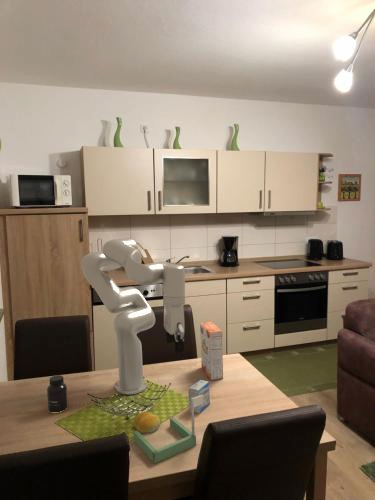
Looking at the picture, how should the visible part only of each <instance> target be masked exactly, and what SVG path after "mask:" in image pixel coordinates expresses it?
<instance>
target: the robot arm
mask: <svg viewBox="0 0 375 500" xmlns="http://www.w3.org/2000/svg"><path fill="white" fill-rule="evenodd" d="M138 247H139V246H138V244H137V242H136V241H135V240H134V239H132V238H128V237H126V238H115V239H110V240H108V241H106V242H105V243H104V244H103V246H102V250H98V251H93V252H90V253H87V254H86V255H84V256H83V258H82V260H81V271H82V274H83V277H84V278H85V279H86V281H87V282H88V283H89V285H90V286H92V288H93V289H94V291H95V292H96V293H97V295H98V296H99V298H100V300H101V302H102V303H103V305H104V307H105V308H106V310H107V311H108V313H110V314H117V315H116V316H115V318H114V319H113V328H114V332H115V333H114V334H115V337H116V344H117V360H118V363H117V364H118V366H117V367H118V382H117V383H116V384H115V391H116V392H117V393H118V394H122V395H136V394H139V393H142V392H144V391H145V390H147V388H148V382H147V381H146V380H145V379H144V371H143V367H144V366H143V350H142V342H141V340H140V338H139V337H138V335H137V334H139V333H140V332H143V331H147V330H149V329H151V328H153V326H154V325H155V324H156V317H155V316H156V315H155V312H154V311H153V309H152V307H151V306H150V304H149V303H148V302H147V299H146V298H145V296H144V295H143V294H142V292H141V291H140V290H139V289H138V288H136V287H135V286H125V287H119V286H118V284H117V283H116V282H115V280H114V278H112V277H111V276H110V275H108V274H107V273H105V271H112V270H116V269H119V268H121V267H123V268H124V272H125V274H126V276H127V277H128V278H129V280H131V281H133V282H135V283H137V284H139V285H141V286H145V287H147V286H148V287H149V286H154V285H158V284H162V285H163V287H162V288H163V289H162V291H163V306H164V309H163V328H164V330H165V332H166V333H165V338H166V343H167V344H169V343H174V352H175V354H177V353H184V351H185V312H184V311H185V310H184V306H185V305H186V274H185V273H186V272H185V271H186V270H185V267H184V266H183V265H181V264H174V263H171V262H168V261H157V262H151V263H146V264H143V263H142V259H143V258H142V253H141V251H140V250H139V248H138Z"/></svg>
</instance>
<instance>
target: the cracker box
mask: <svg viewBox="0 0 375 500" xmlns="http://www.w3.org/2000/svg"><path fill="white" fill-rule="evenodd" d="M199 324H200V325H199V327H200V355H201V356H200V357H201V359H200V361H201V362H200V363H201V368H202V369H203V371H204V372H205V374H206V375H207V377H208V378H209V380H210V381H215V380H221V379H222V380H223V379H224V365H223V364H224V363H223V362H224V359H223V331H222V330H221V329H220V328H219V327H218V326H217V325H216V324H215V323H214V322H213V321H207V322H206V321H205V322H199Z"/></svg>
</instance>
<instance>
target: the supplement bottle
mask: <svg viewBox="0 0 375 500" xmlns="http://www.w3.org/2000/svg"><path fill="white" fill-rule="evenodd" d="M48 382H49V385H48V386H47V388H46V397H47V411H48V410H49V411H50V412H60V411H63V410H65V409H66V408H68V405H69V404H68V388H67V384H66V383H65V382H64V375H61V374H58V375H57V374H56V375H53V376H51V377H50V378H49V381H48ZM66 410H67V409H66ZM66 410H65V411H66ZM49 411H48V412H49ZM50 412H49V413H50ZM63 412H64V411H63Z"/></svg>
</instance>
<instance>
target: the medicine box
mask: <svg viewBox="0 0 375 500" xmlns="http://www.w3.org/2000/svg"><path fill="white" fill-rule="evenodd" d="M187 390H188V393H187V394H188V410H189V412H191V398H192V397H193V398H195V397H198V396H200V395H203V404H201V405H199V406H196V407H194V413H196V414H201V413H202V412H203V411H204V410H205V409H206V408H207V407H209V405H210V404H211V396H210V394H211V393H210V382H209V381H208V380H203V379H198V380H197V381H196V382H195V383H194V384H192V385H191V386H189V387H188V389H187Z"/></svg>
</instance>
